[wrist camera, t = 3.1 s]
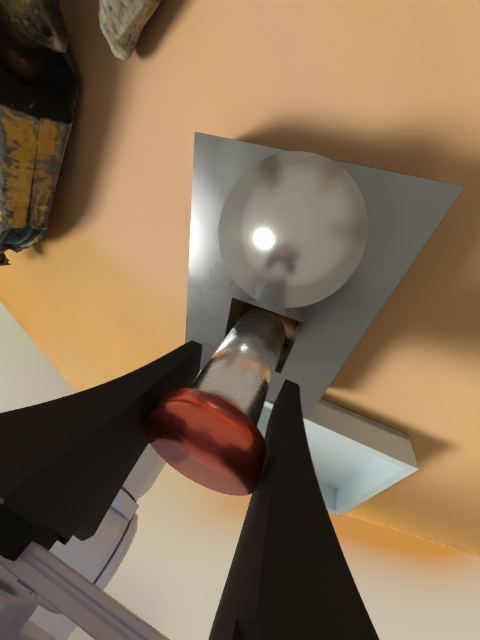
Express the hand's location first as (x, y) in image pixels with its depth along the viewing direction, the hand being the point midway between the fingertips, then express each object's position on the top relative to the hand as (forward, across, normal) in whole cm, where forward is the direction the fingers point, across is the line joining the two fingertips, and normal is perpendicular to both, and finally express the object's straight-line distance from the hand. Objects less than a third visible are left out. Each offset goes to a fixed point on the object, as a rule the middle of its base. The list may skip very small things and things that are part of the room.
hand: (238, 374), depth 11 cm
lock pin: (+4, 0, 0) cm, 4 cm away
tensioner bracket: (+6, 0, -2) cm, 7 cm away
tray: (+6, -7, +12) cm, 15 cm away
